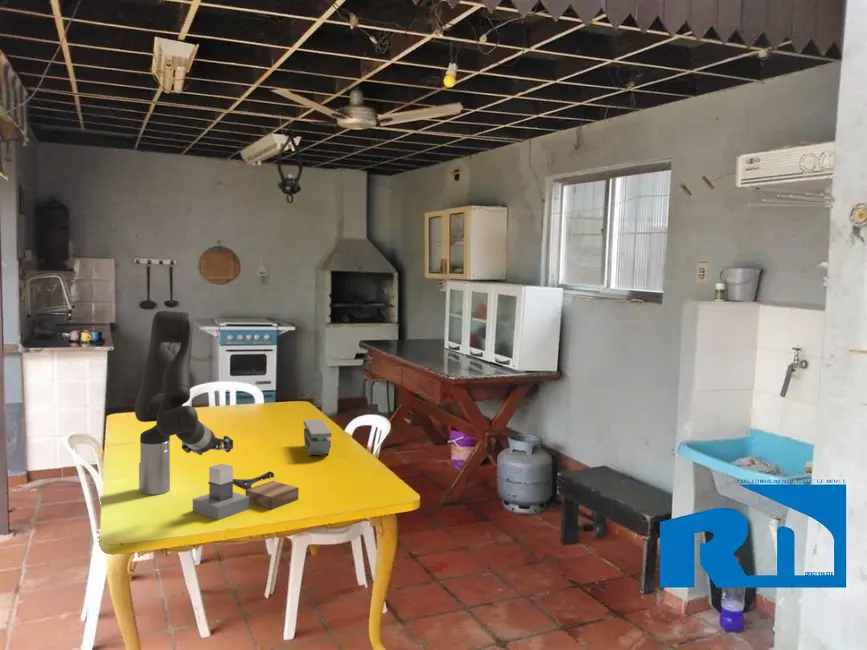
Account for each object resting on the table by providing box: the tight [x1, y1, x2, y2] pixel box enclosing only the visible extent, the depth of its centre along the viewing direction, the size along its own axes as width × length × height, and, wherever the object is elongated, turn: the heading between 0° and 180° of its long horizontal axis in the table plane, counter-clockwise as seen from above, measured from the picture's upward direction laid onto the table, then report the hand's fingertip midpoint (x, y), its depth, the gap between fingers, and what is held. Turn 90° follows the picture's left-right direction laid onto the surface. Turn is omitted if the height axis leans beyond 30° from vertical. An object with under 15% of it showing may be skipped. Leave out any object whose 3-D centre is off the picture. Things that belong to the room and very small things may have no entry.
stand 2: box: [245, 480, 300, 510], centre depth 225 cm, size 12×12×4 cm
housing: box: [208, 463, 234, 502], centre depth 214 cm, size 5×5×10 cm
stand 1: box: [192, 491, 250, 521], centre depth 214 cm, size 12×12×4 cm
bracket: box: [233, 470, 275, 490], centre depth 245 cm, size 14×15×3 cm
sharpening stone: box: [303, 419, 332, 457], centre depth 284 cm, size 25×8×11 cm, turn 18°
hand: (214, 450), depth 214 cm, fingers open, 8 cm apart
